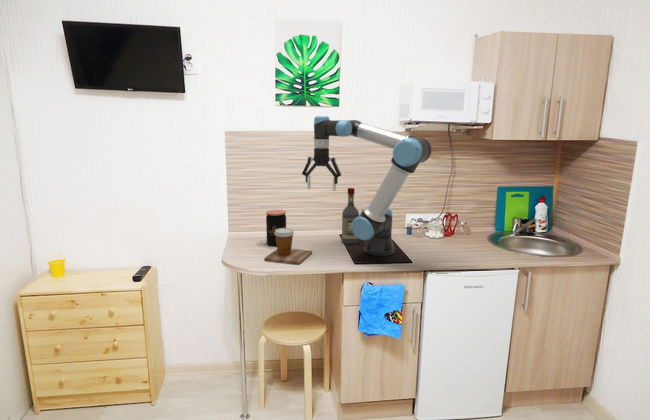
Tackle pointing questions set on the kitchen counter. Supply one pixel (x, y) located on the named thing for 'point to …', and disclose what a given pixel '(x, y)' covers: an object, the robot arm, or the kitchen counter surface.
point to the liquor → (349, 220)
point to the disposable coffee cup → (284, 240)
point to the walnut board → (289, 257)
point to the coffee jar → (274, 224)
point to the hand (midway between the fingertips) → (321, 189)
